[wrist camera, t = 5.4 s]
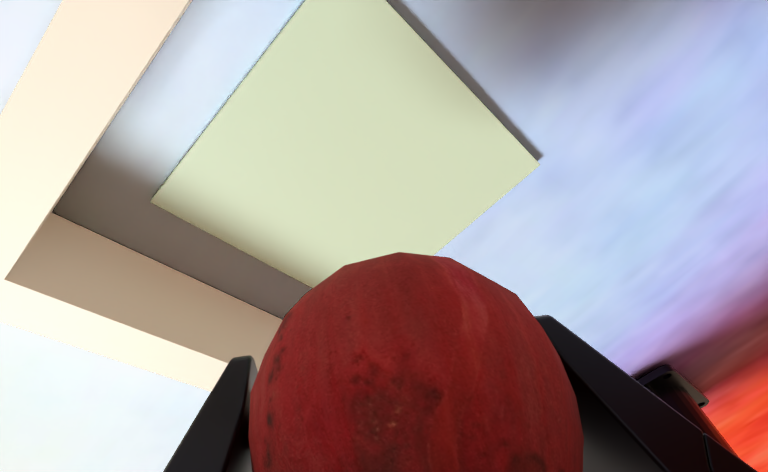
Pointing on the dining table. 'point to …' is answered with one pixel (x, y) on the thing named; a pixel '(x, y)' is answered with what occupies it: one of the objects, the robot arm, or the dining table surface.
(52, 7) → the dining table surface
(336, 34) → the arena
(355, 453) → the onion
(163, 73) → the dining table surface
